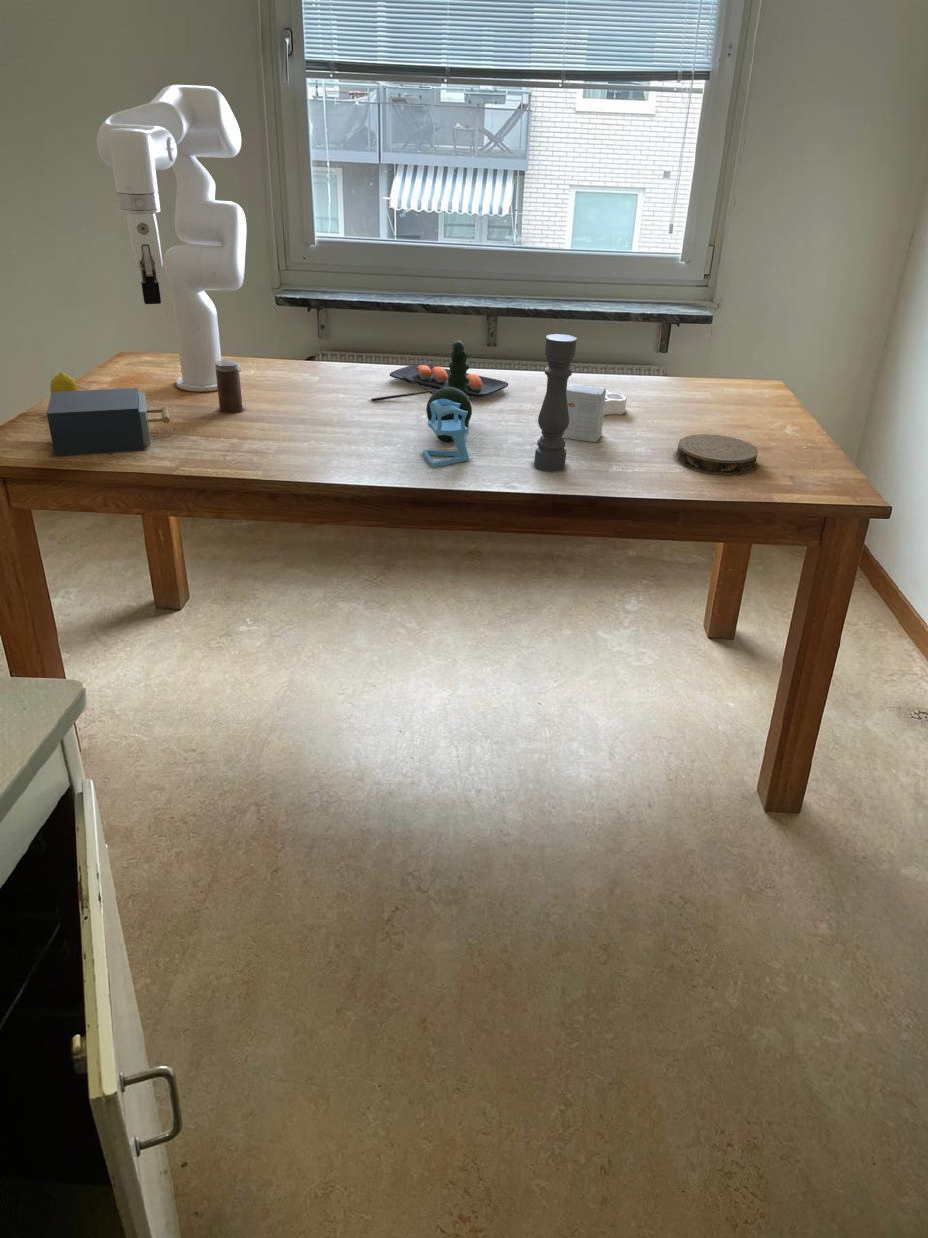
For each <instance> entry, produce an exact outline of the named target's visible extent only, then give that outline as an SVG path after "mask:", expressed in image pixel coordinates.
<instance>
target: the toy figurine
mask: <svg viewBox="0 0 928 1238" xmlns="http://www.w3.org/2000/svg"><path fill="white" fill-rule="evenodd" d="M451 347H452V349H451V350H452V351H451V353H450V359H451V362H450V363H449V364H448V367H449V368H448V369H449V370H450V372H451V374H450V375H449V378H448V383H449V386H448V387H444V388H441V389H439V390H438V389H436V390H437V391H436V392H433V395H432V394H431V396H430V397H429V399H428V401H427V403H426V417H427V421H431V418H432V413H431V409H430V403H431V402H433V401H435V400H439V399H447V400H450V401H452V402H455V403H460V407H459V409H461V410H463V411H468V413H467V416H466V418H465V427H467V428H468V429H469V425H470V421H471V417H472V413H473V406H472V403H471V400H470V398H469V396H468V395H467V389H466V385H467V384H468V383H469V379H468V378H467V377H466V375H465V373H468V370H469V369H470V365H469V364H468V363H467V360H468V357H469V354H468V352H466V350H465V344H464V343H463V342H462V341H461V340H455V341H454V342H453V343H452V346H451ZM441 406H450V405H441ZM435 415H436V420H438V418H437V414H436V412H435ZM462 417H463V416H462V415H459V414H458V419H459V420H460V421H461V419H462ZM452 419H454V413H450V414H447V415H445V416H443V417H441V421H442V420H452ZM436 436H437V439H438V441H440V442H443V443H446V444H447V443H448V444H449V443H454V440H453V438H452V436H447V435H436Z"/></svg>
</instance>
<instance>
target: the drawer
mask: <svg viewBox="0 0 928 1238" xmlns="http://www.w3.org/2000/svg"><path fill="white" fill-rule="evenodd" d="M138 397H139V415H140V422H141V429H142V436H143V442H144V446H149V445H151V436H150V435H151V434H150V423H159V422H163V424H169V423H170V421H171V418H170V412H169V411H170V410H169V407H168V406H162V407H161V408H154V409H151V408H150V409H148V407H147V400H146V393H145V392H138ZM159 413H161V417H155V418H154V417H152V418H149V414H159Z"/></svg>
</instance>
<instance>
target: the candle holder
mask: <svg viewBox="0 0 928 1238" xmlns="http://www.w3.org/2000/svg"><path fill="white" fill-rule="evenodd" d="M544 348H545V349H544V355H545V360H546V362H547V365H548V366H547V367H546V368H544V375H546V378H547V381H546V392H545V394H544V399H543V401H542V404H541V407H540V411H539V414H538V417H537V418H538V419H537V423H538V424H537V425H538V426H539V429H540V430H541V432H540V433H541V434H542V435H541V436H540V437H539V438H538V439H537V443H536V444H537V446H536V447H535V451H534V463H533V466H534V467H535V468H536V469H538V470H540V471H545V472H560V471H563V470H564V469H565V468H566V459H567V449H566V446H567V442H566V441H565V438H563V437H562V436H563V435H564V431H565V430H566V429H567V427H568V425H569V412H568V404H567V396H566V390H567V388H568V380H569V377H571V376H572V374H573V371H572V369H571V368H570V366H571V364H572V363H573V362H574V358H575V357H576V348H577V337H575V336H573V335H569V334H562V333H561V334H559V333H558V334H557V333H556V334H554V333H553V334H548V335H546V337H545V347H544Z"/></svg>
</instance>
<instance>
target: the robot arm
mask: <svg viewBox="0 0 928 1238" xmlns="http://www.w3.org/2000/svg"><path fill="white" fill-rule="evenodd" d="M241 147H242V135H241V129H240V126H239V123H238V121H237V119H236V117H235V115H234V113H233V111H232V109H231V107H230V104H229V103H228V101H227V99H226V98H225V96H224V95H223V94H222V93H221V91H219V90H218V89H217V88H215V87H213V86H210V85H209V86H208V85H191V84H189V85H188V84H171V85H166V86H165V87H163V88H161V90H160V91H159V92H158V93H157V94H155V96H154V97H153V99H151V101H150V102H149V103H144V104H141V105H137V106H134V107H131V108H127V109H123V110H121V111H116V112H115V113H112V114H111V115H109V116H108V117H107V118H106V119H105V120H104V121H103V122H102V123H101V124H100V126H99V129H98V132H97V136H96V148H97V151H98V154H99V157H100V158H101V160H102V161H103V163H104V164H106V165H107V166H108V167H111V168H112V173H113V180H114V185H115V191H116V192H115V193H116V199H117V207H118V212H120V213H124V214H125V215H126V220H127V228H128V233H129V239H130V244H131V251H132V253H133V257H134V261H135V265H136V268H138V269H140V273H141V281H140V284H141V290H142V297H143V303H144V305H160V304H162V299H161V290H160V283H159V280H158V277H157V268H156V267H159V269H162V268H163V267H164V271H165V275H166V279H167V282H168V286H169V289H170V295H171V298H172V306H173V311H174V312H173V313H174V320H175V321H174V322H175V329H176V339H177V346H178V347H177V348H178V353H179V362H180V371H181V372H180V373H181V376H179V377H178V378H177V379H176V380H175V384H176V387H177V388H178V389H180V390H184V391H189V392H200V393H201V392H213V391H218V388H217V378H216V368H215V363H216V362H218V361H222V353H221V342H220V333H219V323H218V312H217V308H216V306H215V303H214V302H213V301H212V299H211V298H210V297H209V295H208V294H207V291H216V292H217V291H219V292H235V291H238V290H240V288H241V287H242V286H243V283H244V278H245V269H246V268H245V267H246V250H247V220H246V215H245V212H244V209H243V208H242V207H241V206H240V205H239V203H236V202H234V201H231V200H218V199H216V182H215V180H214V179H213V177H212V175H211V174H210V173H209V171H208V170H207V168H205V166H204V165H202V163H201V162H200V161H199V160H198V158H219V159H231V158H234V157H236V156H237V155H239V153H240V151H241ZM197 157H198V158H197ZM171 167H172V170H173V172H174V175H175V179H176V192H175V193H176V194H175V207H174V208H175V209H174V231H175V234H176V236H177V238H178V239H179V240H180V241H181V242H184V243H185V244H177V245H173V246H171V247H169V248H168V249H167V250H166V252H165V254H164V257H163V255H162V248H161V240H160V233H159V227H158V221H157V215H156V214H157V213H161V210H162V209H161V204H160V203H161V202H160V196H159V188H158V180H157V179H158V178H157V172H156V171H165V170H168V169H170V168H171ZM241 371H242V368H241V365H239V373H241Z"/></svg>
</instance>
